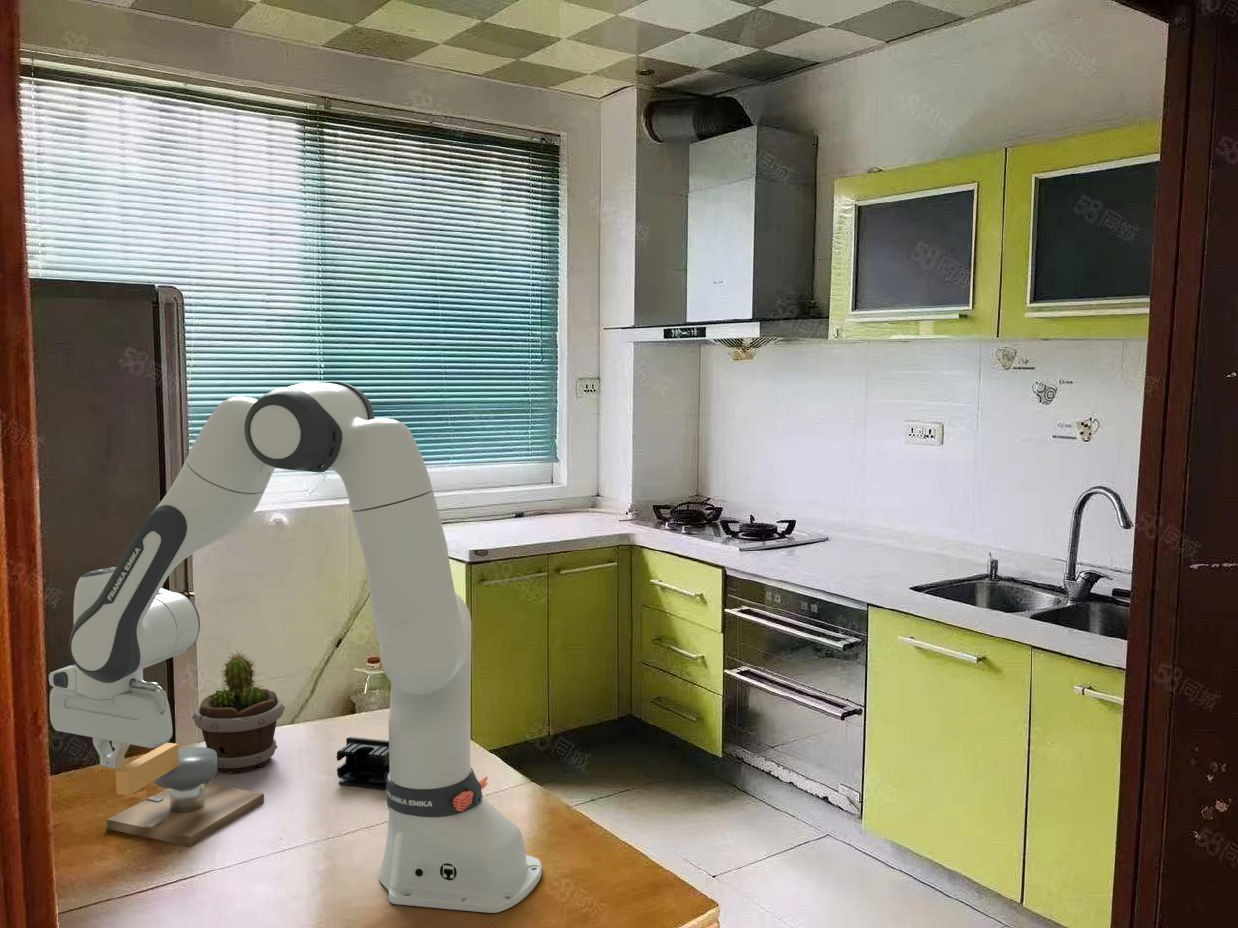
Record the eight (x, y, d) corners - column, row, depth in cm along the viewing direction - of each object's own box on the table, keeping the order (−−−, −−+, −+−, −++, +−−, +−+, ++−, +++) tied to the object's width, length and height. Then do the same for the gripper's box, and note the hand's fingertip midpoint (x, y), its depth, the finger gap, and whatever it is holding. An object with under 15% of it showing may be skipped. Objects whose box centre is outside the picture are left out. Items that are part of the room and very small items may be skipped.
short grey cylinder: (212, 801, 158) (210, 774, 158) (188, 815, 153) (187, 786, 153) (187, 797, 160) (186, 770, 159) (162, 810, 155) (161, 782, 155)
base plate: (264, 802, 161) (263, 792, 161) (190, 846, 147) (189, 835, 146) (186, 787, 167) (185, 778, 167) (107, 828, 152) (106, 818, 152)
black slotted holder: (408, 774, 173) (407, 736, 172) (388, 791, 166) (388, 751, 166) (356, 769, 175) (355, 731, 175) (335, 785, 169) (334, 746, 168)
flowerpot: (282, 774, 173) (278, 661, 171) (187, 782, 169) (182, 667, 167) (289, 744, 187) (286, 639, 185) (202, 751, 183) (198, 644, 181)
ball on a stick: (180, 762, 162) (178, 723, 161) (229, 767, 160) (228, 728, 159) (96, 811, 144) (94, 768, 143) (151, 818, 142) (149, 773, 141)
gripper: (181, 677, 146) (183, 769, 147) (76, 661, 153) (79, 749, 154) (147, 690, 140) (150, 785, 142) (39, 673, 147) (43, 763, 149)
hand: (112, 766), depth 148 cm, fingers closed
